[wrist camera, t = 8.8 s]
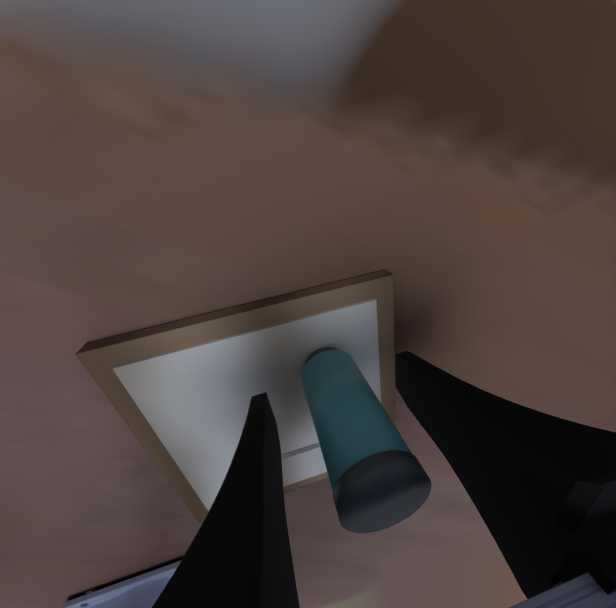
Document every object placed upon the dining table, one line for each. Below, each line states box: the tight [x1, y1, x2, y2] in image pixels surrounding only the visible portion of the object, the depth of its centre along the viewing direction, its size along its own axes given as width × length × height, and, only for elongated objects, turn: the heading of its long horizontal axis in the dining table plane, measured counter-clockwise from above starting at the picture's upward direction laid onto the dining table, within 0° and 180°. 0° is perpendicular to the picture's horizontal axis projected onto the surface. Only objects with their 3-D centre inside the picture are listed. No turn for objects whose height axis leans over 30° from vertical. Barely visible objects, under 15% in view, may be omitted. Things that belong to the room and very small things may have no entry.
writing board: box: [75, 270, 395, 522], centre depth 15 cm, size 14×14×1 cm
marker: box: [301, 347, 431, 533], centre depth 10 cm, size 3×3×6 cm
